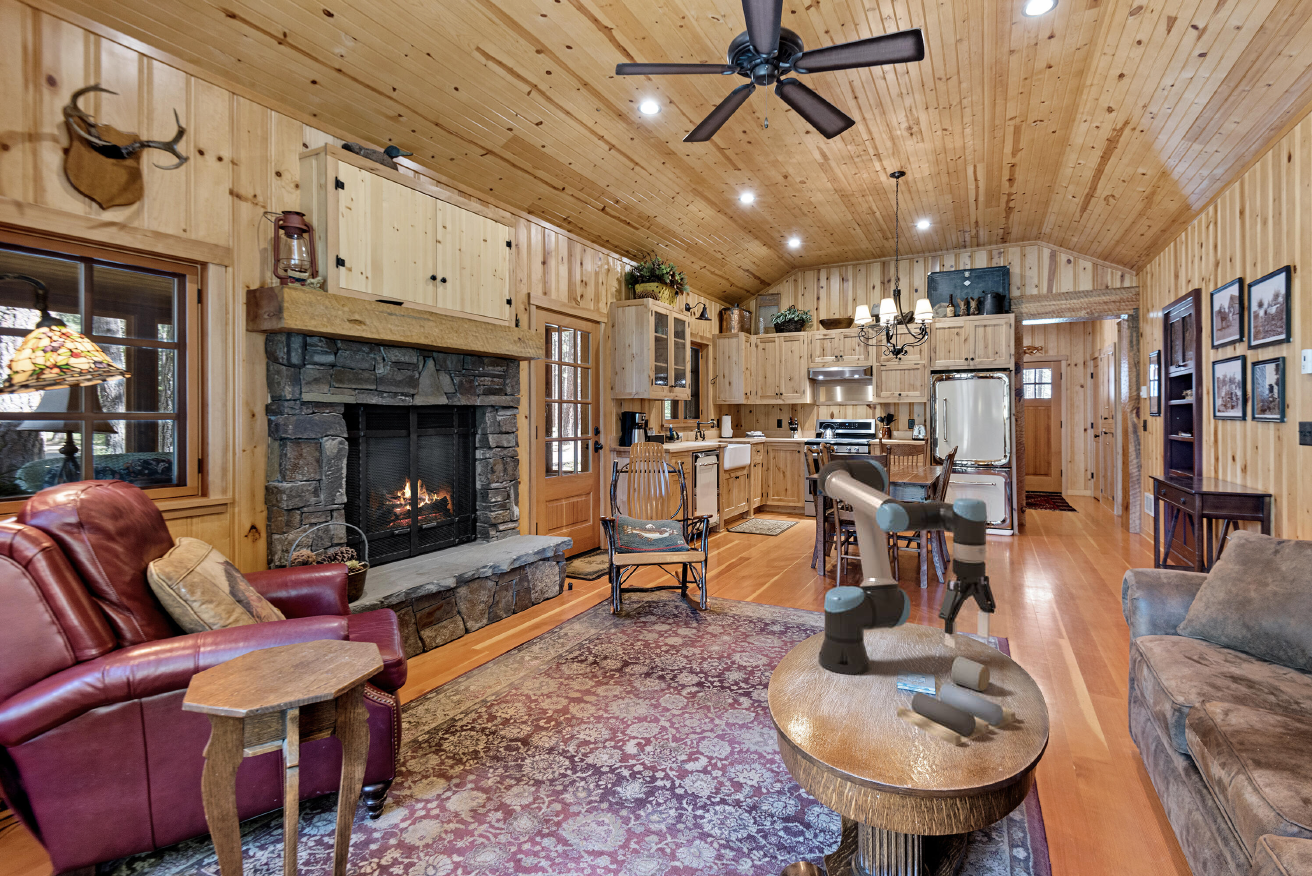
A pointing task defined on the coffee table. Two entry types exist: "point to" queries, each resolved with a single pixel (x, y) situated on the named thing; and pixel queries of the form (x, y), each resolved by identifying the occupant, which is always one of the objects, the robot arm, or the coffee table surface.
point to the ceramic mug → (970, 674)
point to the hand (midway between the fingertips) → (967, 641)
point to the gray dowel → (971, 704)
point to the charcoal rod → (944, 714)
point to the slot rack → (946, 732)
